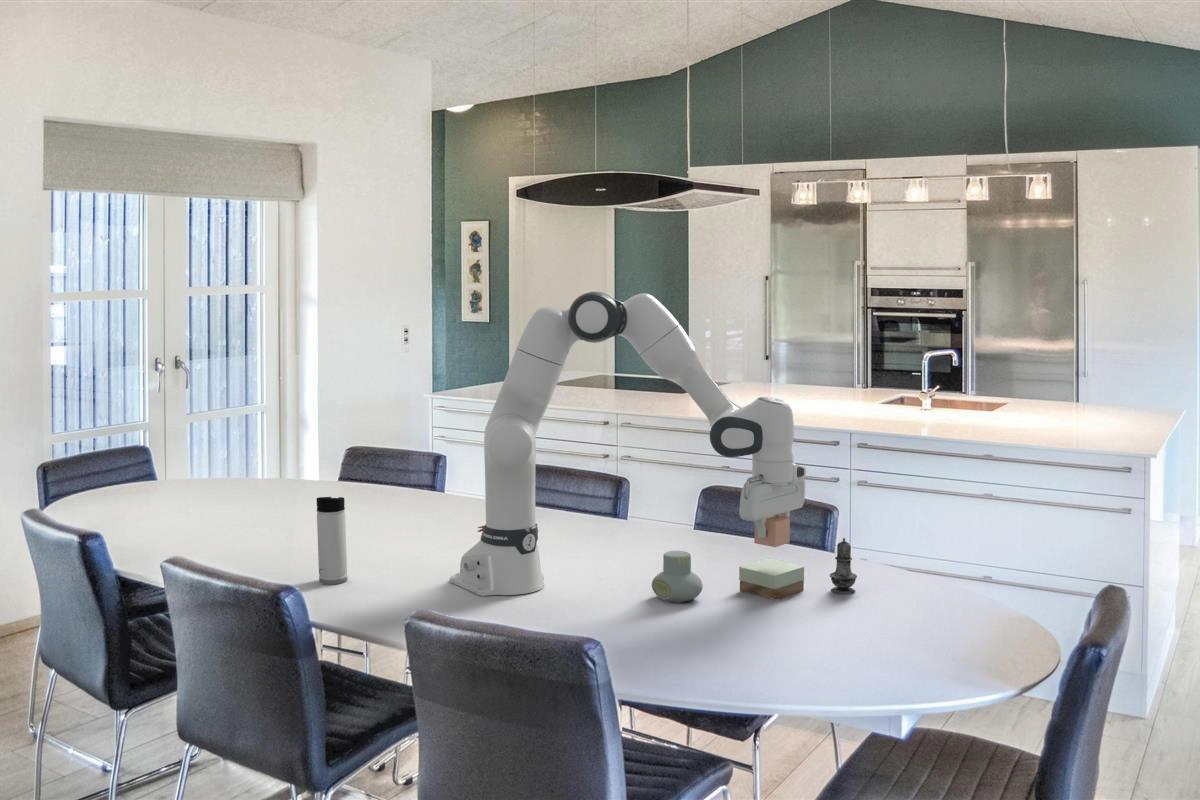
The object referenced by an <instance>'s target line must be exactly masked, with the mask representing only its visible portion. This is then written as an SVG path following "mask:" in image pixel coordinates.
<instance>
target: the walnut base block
mask: <svg viewBox="0 0 1200 800" xmlns="http://www.w3.org/2000/svg"><path fill="white" fill-rule="evenodd" d="M804 584H805V579H804V580H802V581H799V582H796V583H793V584H790V585H787V586H784V587H781V588H777V589H772V588H768V587H764V586H760V585H756V584H752V583H749V582H745V581H741V580H739V592H741V593H745V594H749V595H754V596H759V597H762V598H763V597H764V598H768V599H771V600H776V601H780V600H781V599H784V598H788V597H790V596H793V595H794V594H795V595H796V594H797V593H800V592H803V591H804V589H805V588H804Z"/></svg>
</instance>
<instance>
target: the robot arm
mask: <svg viewBox="0 0 1200 800" xmlns="http://www.w3.org/2000/svg"><path fill="white" fill-rule="evenodd" d="M616 336H620V337H622V338H623V339H625V340H627V342H629V344H631V346H632V347H633V348H634V349H635V351H636V352H637V354H638V355H639V356H640V358H641V359H642V360H643V361H644V363H645V364H646V365H647V366H648V367H649V368H650V369H651V370H652V371H653V373H655V374H657V375H658V376H659V377H660V378H662V379H664V380H667V381H670V382H672V383H674V384H676V385H678V386H680V388H682V389H683V390H684V391H685V392H686V393H687V394H688V396H690V398H691V399H692V400H693V401H694V403H695V404H696V405H697V407H699V409H700V410H701V411H702V413H703V414H704V415H705V416H706V418H707V420H708V422H709V425H710V432H709V441H710V444H711V447H712V448H713V450H714V451H715V452H717V453H718V454H719V455H720V456H723V457H726V458H731V459H733V458H739V457H745V456H751V457H752V465H751V469H752V471H751V472H752V473H751V474H752V475H751V477H748V478H747V479H746V481H745V482H744V484H743V487H742V488H741V491H740V492H741V493H740V498H739V499H740V501H739V510H738V511H739V517H740V520H741V519H742V520H744V521H749V522H753V523H754V526H755V525H756V527H757V529H758V537H760V538H765V537H768V529H766V527H765V524H764V523H765V522H766V518H767V517H770V516H774V515H775V516H781V517H787V518H790V516H791V513H790V511H794V510H797V509H800V508H801V509H802V507H804V506H803V505H804V504H805V499H806V498H805V497H806V496H805V495H806V480H805V478H804V477H806V474H807V468H806V467H805V466H802V465H799V464H796V463H794V455H793V443H794V440H795V439H794V438H795V437H794V435H795V433H794V432H795V429H794V427H795V426H794V425H795V423H794V415H793V414H794V413H793V410H792V407H791V406H790V405H789V403H787V402H786V401H785V400H783V399H779V398H774V397H768V396H767V397H766V396H760V397H758V398H756V399H755V400H754V401H752V402H751V403H749V404H747V405H745V406H743V407H742V406H740V405H739V404H738V405H737V404H736V403H734V402H733V401H732V400H731V399H729V398H728V397H727V395H726V394H725V393H724V391H722V389H721V388H720V387H719V385H718V384H717V383H716V382H715V380H714V379H713V378H712V377H711V375H710V374H709V372H708V371H707V370H706V367H705V366H704V365H703V362H702V361H701V359H700V356H699V354H698V352H697V349H696V347H695V346H694V343H693V342H692V340H691V339H690V337H689V335H688V334H687V332H686V330H685V329H684V328H683V327H682V325H681V324H680V323H679V321H678V320H677V319H676V318H675V316H673V314H672V313H671V312H670V311H669V310H668V309H667V308H666V307H665V306H664V305H663V304H662V303H661V302H660V301H659V300H658V299H657V298H655V296H653V295H652V294H649V293H644V292H643V293H638V294H634V295H633V296H631V297H629V298H628V299H627V300H625V301H620V300H618V299H617V298H613V297H612V296H610V295H609V294H607V293H605V292H602V291H590V292H586V293H583V294H581V295H579V296H578V297H576V298H575V299H574V301H572V303H571V305H570V307H569V308H567V309H559V308H556V307H552V306H551V307H550V306H545V307H540V308H539V309H537V310H535V312H534V313H533V314H532V316H531V318H530V319H529V321H528V322H527V324H526V325H525V328H524V330H523V332H522V335H521V336H520V338H519V341H518V343H517V346H516V348H515V351H514V353H513V355H512V359H511V361H510V365H509V367H508V370H507V372H506V375H505V378H504V381H503V383H502V385H501V388H500V390H499V393H498V395H497V398H496V400H495V403H494V405H493V408H492V409H491V414H490V415H489V418H488V420H487V423H486V425H485V428H484V439H483V443H484V444H483V446H484V447H483V449H484V451H483V452H484V454H483V455H484V484H485V485H484V489H485V490H484V491H485V492H484V493H485V496H484V497H485V525H480V526H478V527H477V529H478V530H477V533H480V532H481V536H480V540H479V541H478V542H477V543H475V544H474V545H473V546H472V547H470V549H468V550H467V551H466V552H465V553H463V555H462V557H461V559H460V565H459V566H460V568H459V572H458V573H455V574H453V575H451V576H450V577H449V583H452V584H453V585H456V586H458V587H461V588H463V589H465V590H466V591H467V590H468V591H470V592H471V593H473V594H476V595H478V596H482V597H483V596H485V597H486V596H497V595H498V596H500V595H501V596H513V595H515V596H517V595H524V594H530V593H534V592H537V591H540V590H541V589H543V587H544V586H545V584H544V579H545V577H544V573H542V569H541V559H540V552H539V546H538V543H537V542H538V539H539V529H538V528H539V527H538V523H536V458H537V457H536V450H537V449H536V446H537V445H536V442H537V441H536V434H537V431H538V429H539V426H540V425H541V422H542V419H543V417H544V415H545V412H546V411H547V408H548V407H549V404H550V402H551V400H552V398H553V395H554V392H555V389H556V386H557V385H558V382H559V380H560V377H561V373H562V370H563V368H564V365H565V363H566V360H567V357H568V355H569V352H570V350H571V349H572V347H573V345H574V344H575V343H576V342H578V341H584V342H587V343H593V344H596V343H597V344H598V343H602V342H606V341H607V340H609V339H611V338H614V337H616Z"/></svg>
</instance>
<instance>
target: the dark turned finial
mask: <svg viewBox="0 0 1200 800" xmlns="http://www.w3.org/2000/svg"><path fill="white" fill-rule="evenodd" d="M836 547H837V548H836V556H835V561H836V568H835V571H834V572H831V573H830V574H829V577H830V581H831V582H832V584H833V585H834V587H832V588H831V589H830V592H831V593H833V594H836V595H844V596H845V595H847V596H848V595H854V594H855V593H856V590H855V589H853V587H852V586H854V585H855V583H856V579H857V578H858V574H856V573H853V572H852V568H851V561H852V560H853V558H852V557H851V551H852V550H851V544H850V543H849V542H847V541H846V538H845V537H843V538H842V541H840V542H838V543H837V545H836Z"/></svg>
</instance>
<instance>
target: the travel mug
mask: <svg viewBox="0 0 1200 800" xmlns="http://www.w3.org/2000/svg"><path fill="white" fill-rule="evenodd" d="M345 502H346V501H345V497H342V496H338V497H332V496H319V497H316V528H317V533H316V534H317V551H318V553H317V555H318V556H317V559H318V580H319V582H318V583H320V584H321V585H325V586H326V585H327V586H328V585H329V586H330V585H332V586H333V585H340V584H344V583H346V582H347V581H348V562H347V561H348V559H347V558H348V557H347V535H346V534H347V531H346V528H347V527H346V507H345Z"/></svg>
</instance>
